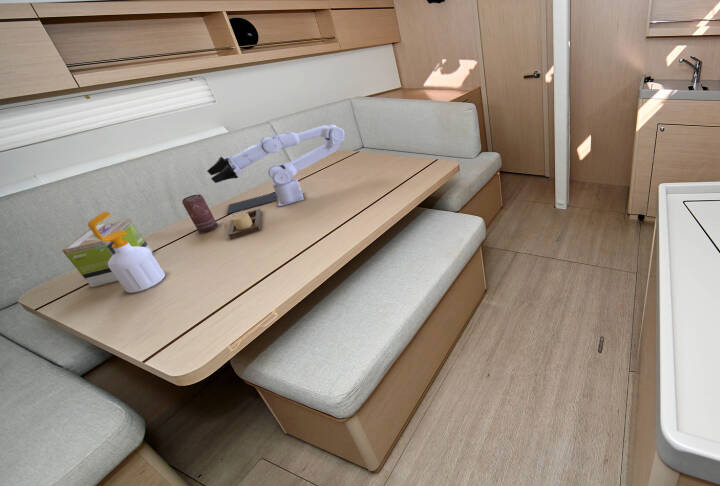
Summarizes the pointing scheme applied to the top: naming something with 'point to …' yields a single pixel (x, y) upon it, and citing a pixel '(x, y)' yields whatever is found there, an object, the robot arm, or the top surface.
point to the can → (199, 213)
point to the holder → (255, 228)
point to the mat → (252, 203)
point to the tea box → (101, 251)
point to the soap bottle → (129, 260)
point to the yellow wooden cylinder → (242, 221)
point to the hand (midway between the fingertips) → (211, 176)
